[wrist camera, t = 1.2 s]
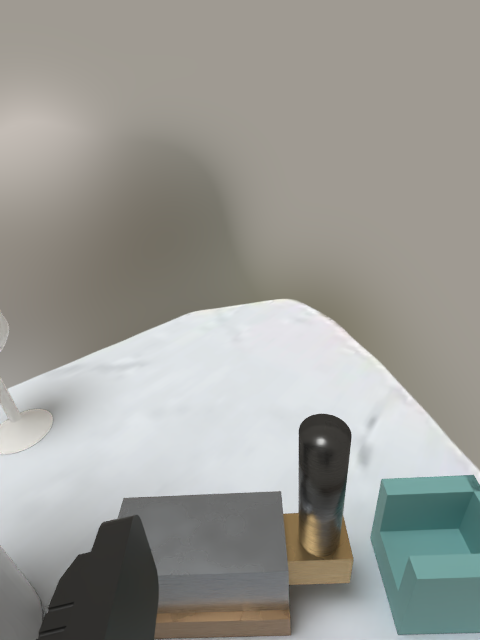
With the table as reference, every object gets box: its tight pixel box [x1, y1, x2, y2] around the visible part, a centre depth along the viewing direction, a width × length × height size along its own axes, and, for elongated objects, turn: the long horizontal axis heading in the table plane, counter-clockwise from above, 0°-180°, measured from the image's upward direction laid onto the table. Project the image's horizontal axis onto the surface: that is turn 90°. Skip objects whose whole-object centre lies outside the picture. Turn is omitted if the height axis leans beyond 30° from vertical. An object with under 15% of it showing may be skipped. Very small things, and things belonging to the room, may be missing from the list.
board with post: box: [283, 414, 353, 585], centre depth 22 cm, size 14×3×12 cm, turn 90°
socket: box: [371, 475, 480, 635], centre depth 25 cm, size 6×6×8 cm
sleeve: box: [118, 491, 291, 639], centre depth 26 cm, size 11×6×8 cm, turn 90°
